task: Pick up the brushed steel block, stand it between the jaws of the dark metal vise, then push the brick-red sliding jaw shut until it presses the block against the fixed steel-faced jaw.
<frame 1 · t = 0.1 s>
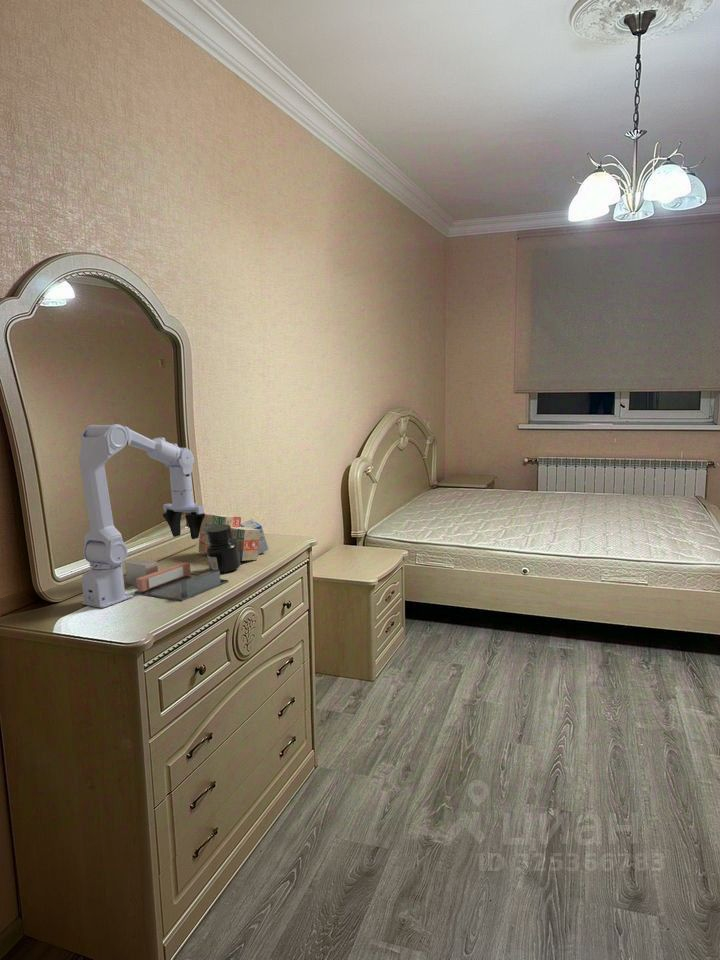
hand: (185, 537, 190), 10 cm above the table, tool pointing down, fingers open, 7 cm apart
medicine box: (258, 549, 210), point 1 cm above the table, touching stack of blocks
steel block: (143, 583, 182), on the table
ink bottle: (225, 568, 192), on the table
stack of blocks: (227, 556, 205), on the table, touching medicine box
sliding jaw: (164, 576, 179), point 2 cm above the table, slide at 0.0 cm
vise bed: (182, 587, 176), on the table
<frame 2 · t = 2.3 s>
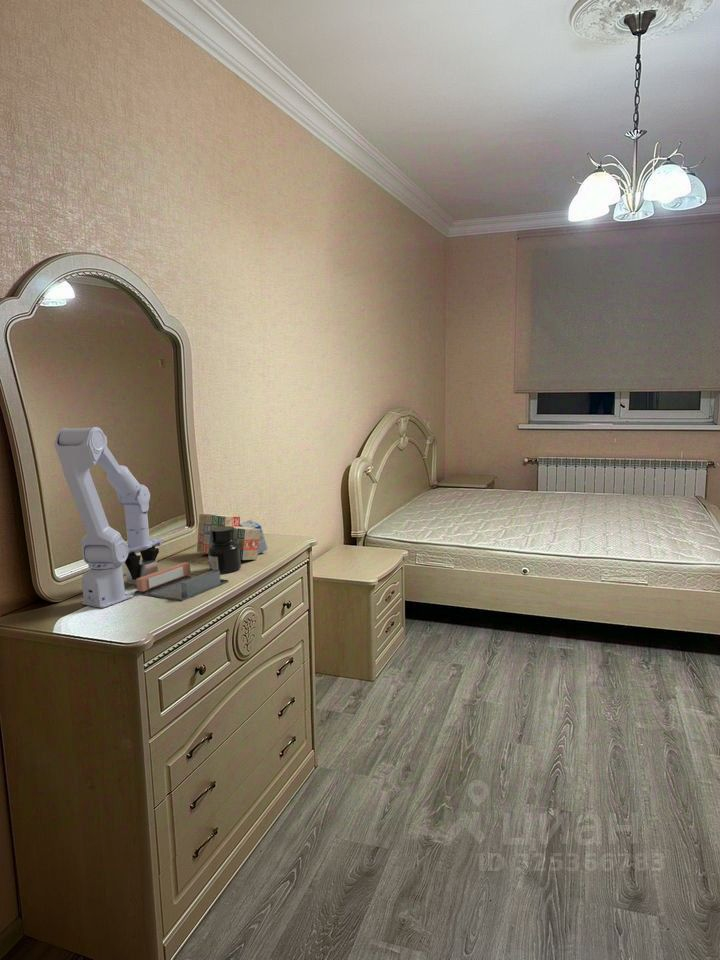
hand: (142, 577, 182), 2 cm above the table, tool pointing down, fingers closed on steel block, 4 cm apart
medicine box: (257, 549, 210), point 1 cm above the table, touching stack of blocks
steel block: (143, 583, 182), on the table, touching gripper
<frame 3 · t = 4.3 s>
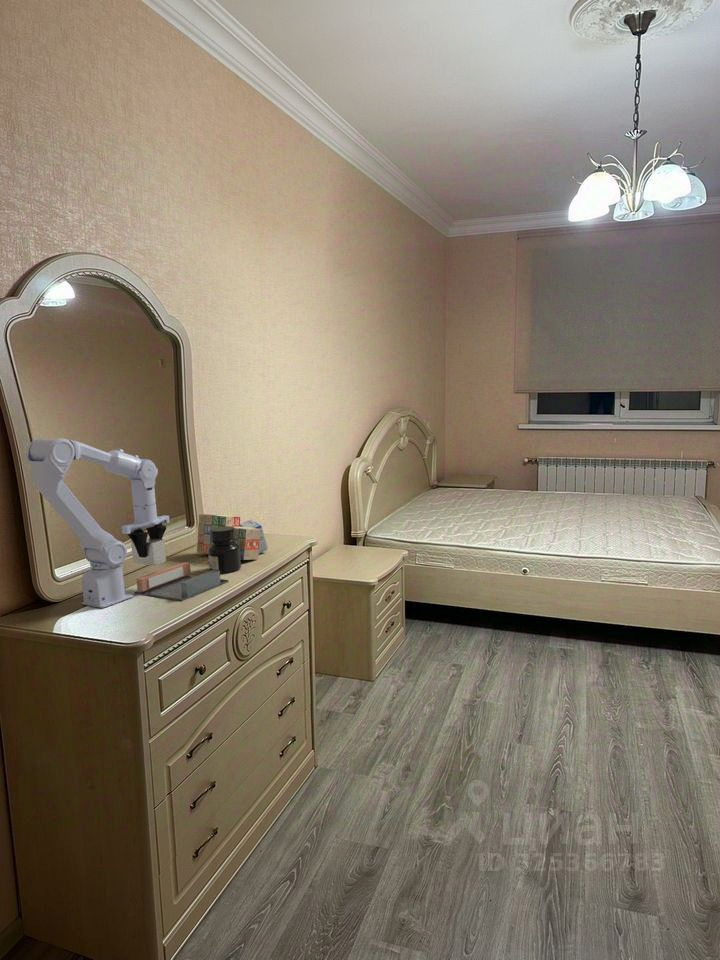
hand: (149, 554, 178), 9 cm above the table, tool pointing down, fingers closed on steel block, 4 cm apart
steel block: (149, 562, 178), point 7 cm above the table, touching gripper
everything else where it was.
when the fingers open (3 cm above the table, at t = 6.6 s): steel block stays where it is, resting on vise bed.
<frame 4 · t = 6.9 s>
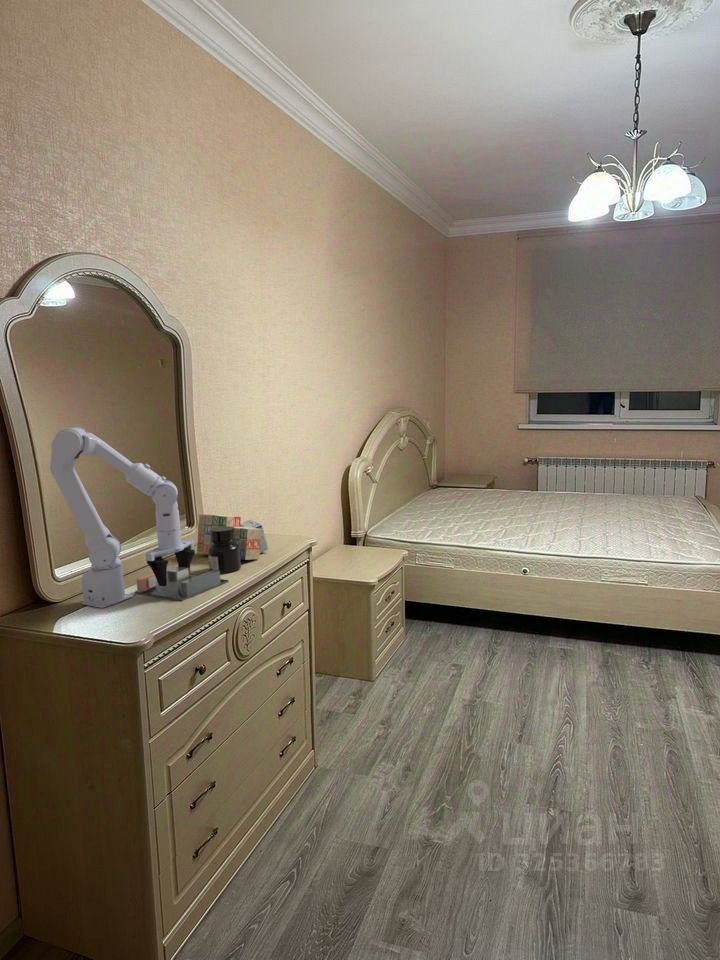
hand: (173, 581, 171), 3 cm above the table, tool pointing down, fingers open, 7 cm apart
steel block: (173, 591, 171), resting on vise bed
everything else where it was.
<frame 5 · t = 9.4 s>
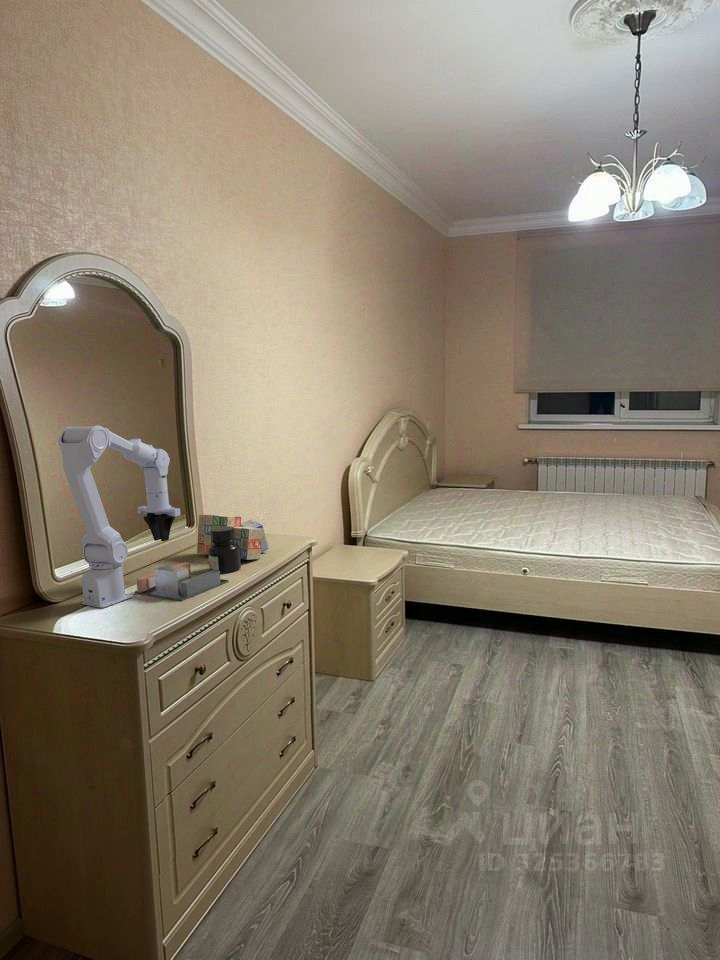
hand: (161, 540, 186), 10 cm above the table, tool pointing down, fingers closed
nothing on the table moved.
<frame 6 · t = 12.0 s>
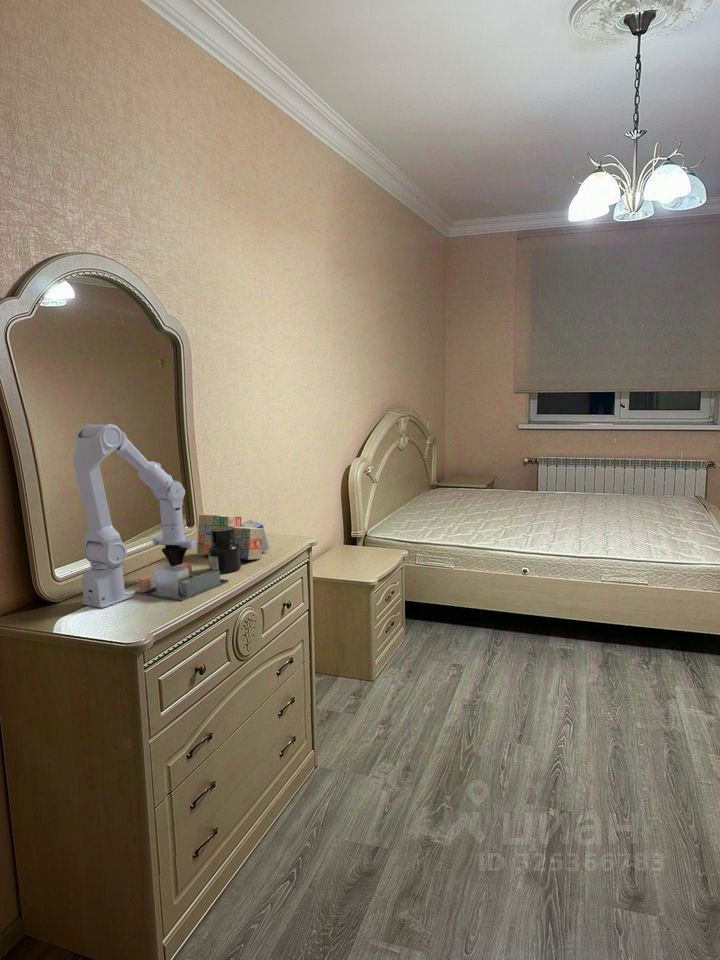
hand: (176, 571, 185), 2 cm above the table, tool pointing down, fingers closed
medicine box: (257, 549, 211), point 1 cm above the table, touching stack of blocks
sliding jaw: (166, 576, 179), point 2 cm above the table, slide at 0.6 cm, touching gripper
everything else where it was.
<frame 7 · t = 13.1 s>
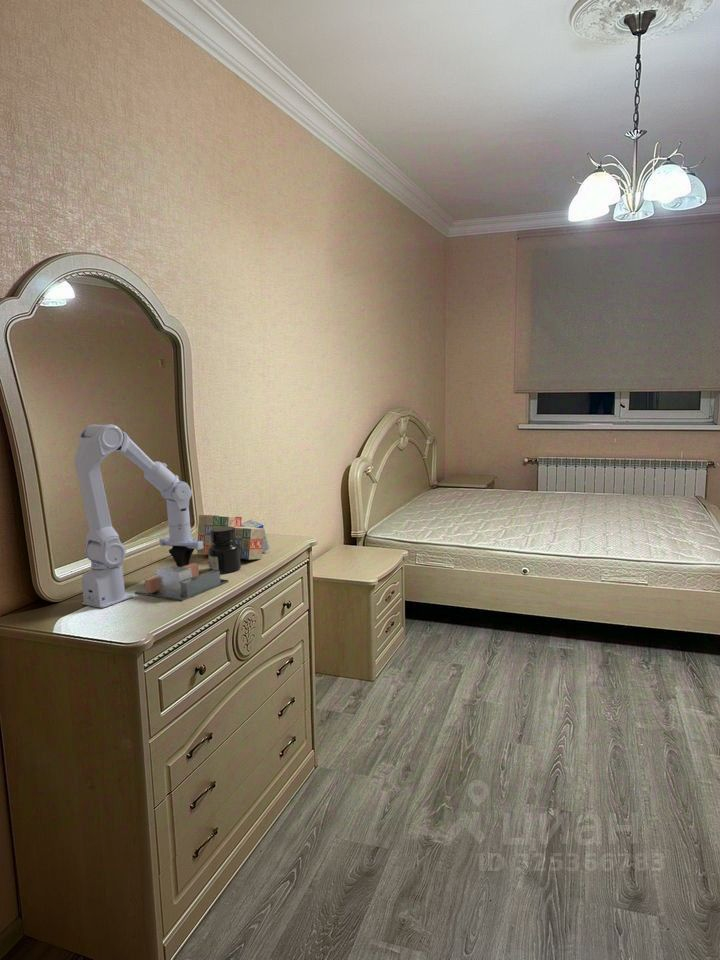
hand: (183, 572, 184), 2 cm above the table, tool pointing down, fingers closed
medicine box: (258, 549, 211), point 1 cm above the table, touching stack of blocks
steel block: (175, 591, 171), point 1 cm above the table, touching sliding jaw, vise bed
sliding jaw: (173, 577, 177), point 2 cm above the table, slide at 3.1 cm, touching gripper, steel block
everything else where it was.
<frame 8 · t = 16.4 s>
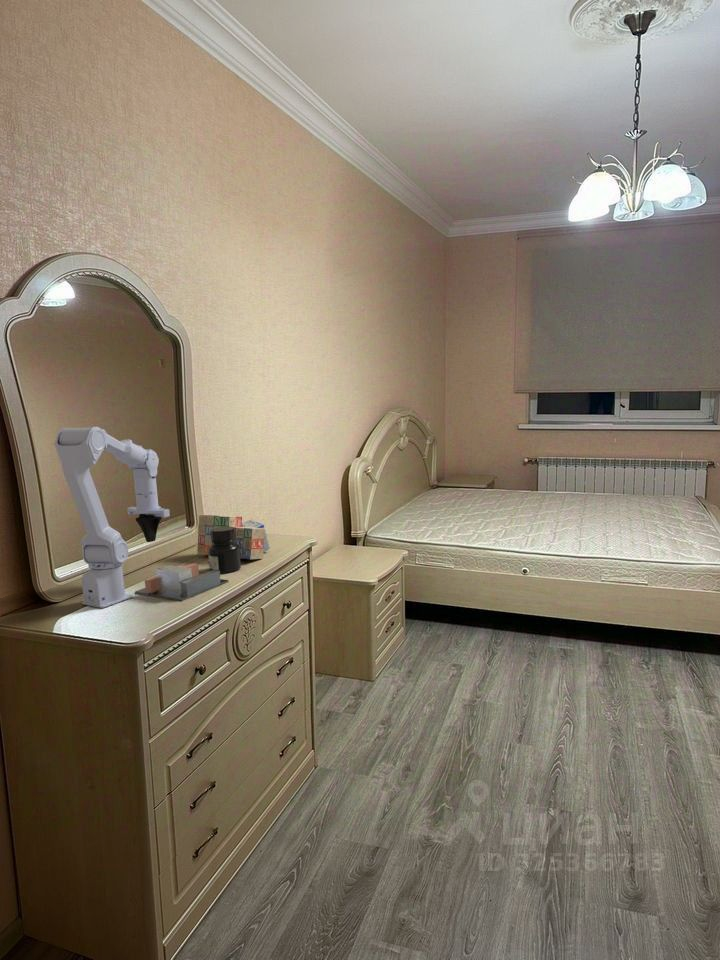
hand: (151, 541, 185), 10 cm above the table, tool pointing down, fingers closed
sliding jaw: (173, 577, 177), point 2 cm above the table, slide at 3.1 cm, touching steel block
at the end: steel block 0.0 cm from the target spot, point 0.5 cm above the table; steel block tilted 0°; sliding jaw slide at 3.1 cm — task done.
